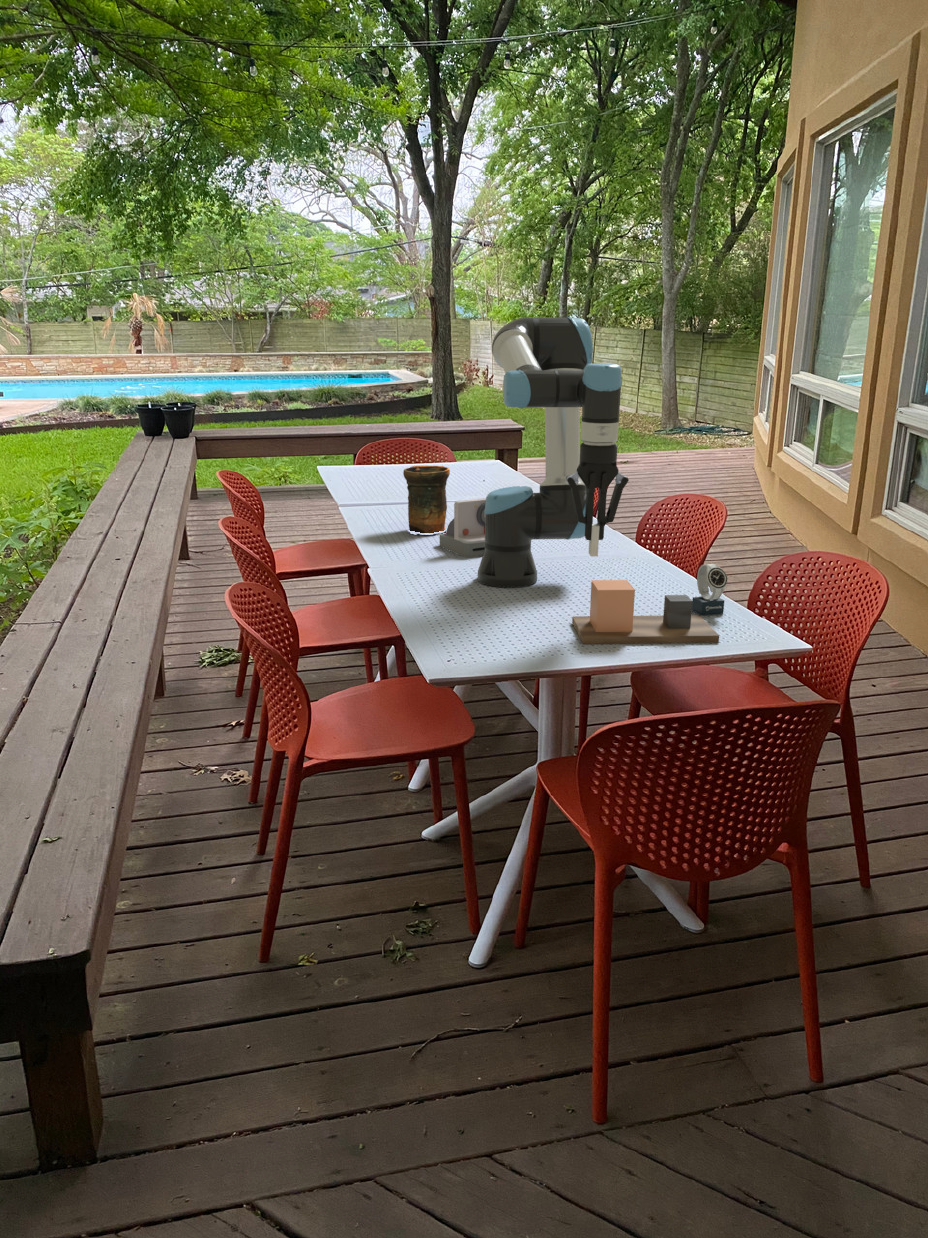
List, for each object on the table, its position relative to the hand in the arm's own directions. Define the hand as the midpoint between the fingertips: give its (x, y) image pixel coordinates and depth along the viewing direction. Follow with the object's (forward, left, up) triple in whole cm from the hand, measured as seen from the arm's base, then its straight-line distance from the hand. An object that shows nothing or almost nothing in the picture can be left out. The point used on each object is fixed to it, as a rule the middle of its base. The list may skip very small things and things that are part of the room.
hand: (593, 554), depth 196 cm
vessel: (-96, -35, -16) cm, 103 cm away
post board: (+6, +10, -16) cm, 20 cm away
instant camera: (-74, -19, -16) cm, 78 cm away
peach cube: (+6, +3, -14) cm, 16 cm away
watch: (-8, +28, -16) cm, 33 cm away
